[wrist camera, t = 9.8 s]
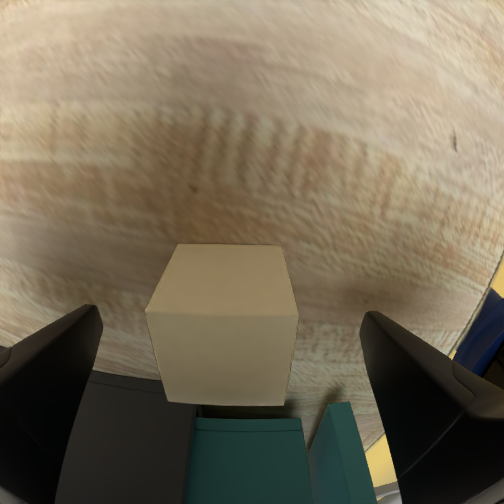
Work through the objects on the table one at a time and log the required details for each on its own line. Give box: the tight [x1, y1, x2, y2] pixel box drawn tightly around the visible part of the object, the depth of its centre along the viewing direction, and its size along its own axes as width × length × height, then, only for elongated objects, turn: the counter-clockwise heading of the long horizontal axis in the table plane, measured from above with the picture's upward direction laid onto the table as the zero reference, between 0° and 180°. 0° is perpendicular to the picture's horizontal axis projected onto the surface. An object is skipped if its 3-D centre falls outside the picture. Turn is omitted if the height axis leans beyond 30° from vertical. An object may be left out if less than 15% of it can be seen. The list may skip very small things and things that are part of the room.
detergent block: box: [145, 244, 299, 406], centre depth 9 cm, size 4×4×4 cm
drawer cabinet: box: [0, 346, 203, 504], centre depth 11 cm, size 15×13×10 cm
